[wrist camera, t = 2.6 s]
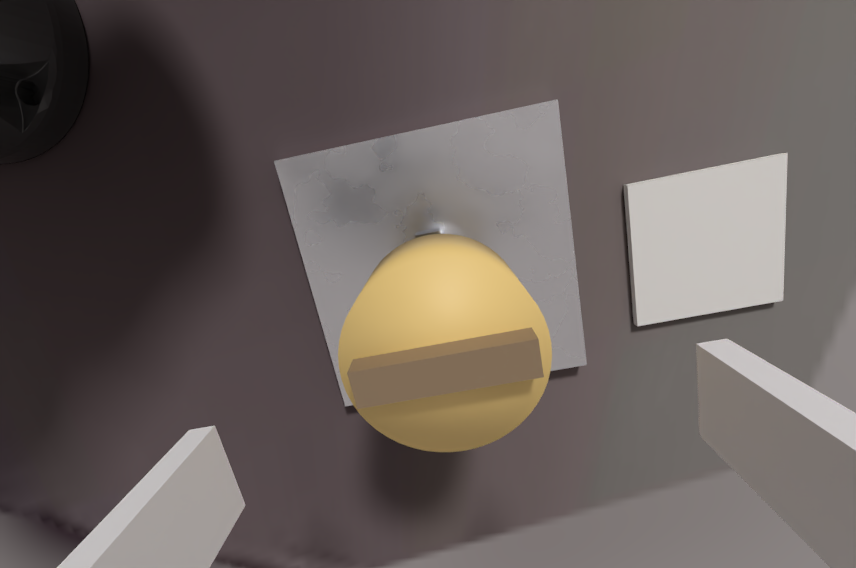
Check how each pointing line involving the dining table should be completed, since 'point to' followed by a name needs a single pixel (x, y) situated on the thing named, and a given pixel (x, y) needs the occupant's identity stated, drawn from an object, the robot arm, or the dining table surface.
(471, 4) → the dining table surface
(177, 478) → the robot arm
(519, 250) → the post fixture
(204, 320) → the dining table surface
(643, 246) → the mat
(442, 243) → the cap
